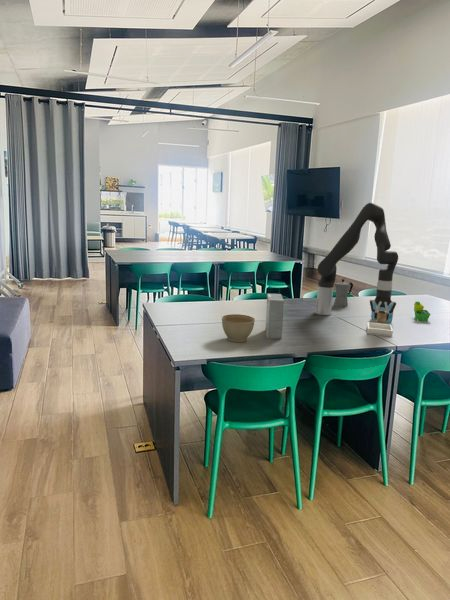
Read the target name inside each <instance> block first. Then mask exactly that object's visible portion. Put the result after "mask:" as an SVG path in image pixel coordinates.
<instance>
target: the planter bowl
mask: <svg viewBox="0 0 450 600" xmlns="http://www.w3.org/2000/svg"><path fill="white" fill-rule="evenodd" d="M255 320H256V319H255V317H253V316H250V315H246V314H240V313H239V314H238V313H237V314H235V313H234V314H233V313H231V314H224V315H222V316H221V325H222V329H223V332H224V334H225V336H226V338H227V340H228V341H230V342H233V343H234V342H235V343H243V342H246V341H247V340H248V338H249V336H250V335H251V334H252V332H253V329H254V326H255Z"/></svg>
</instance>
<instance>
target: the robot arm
mask: <svg viewBox="0 0 450 600" xmlns="http://www.w3.org/2000/svg"><path fill="white" fill-rule="evenodd" d="M367 221H369V222H372V223H373V224H374V226H375V232H374V236H373V237H374V242H375V246H376V261H377V263H378V264H379V265H386V267H384V268H380V269H379V271H378V280H377V284H376V293H375V299H369V305H370V309H371V312H372V311H373V312H375V314H374V318H375V320H374V321H376V320H377V311H378V309H379V307H384V308H386V313H387V317H386V321H387V320H388V318H389V313H393V314H394V310H395V307H396V306H397V302H396V301H393V300H392V291H393V290H392V289H393V278H394V277H393V275H394V272H395V268H396V267H397V264H398V262H399V261H398V260H399V254H398V252H397V251H394V250H390V249H391V247H392V245H391V241H390V239H389V235H388V231H387V223H386V215H385V210H384V208H382V207H381V206H380V205H378V204H375V203H373V202H367V204H365V205H364V206H363V207H362V209H361V210H360V212H359V213H358V215H356V217H355V220H354V221H353V222H352V224H351V225H350V226H349V227H348V229H347V230H346V231H345V232H344V234H343V235H342V236H341V237H340V238H339V240H338V241H337V243H335V245H334V246H333V248H331V250H330V252H329V253H328V254H327V255H325V257H324V258H323V259H322V260H321V261H320V262H319V264H318V265H317V273H318V274H319V275H320V276H321V277H320V279H319V281H318V284H317V294H316V295H317V296H316V297H317V298H316V301H315V302H316V304H315V314H316V315H320V316H330V315H332V307H333V294H334V287H335V285H334V284H336V276H337V263H338V262H339V261H340V260H341V259H342V258H344V257H345V256H347V255H348V254H349V253H351V251H352V250H353V249H354V248H355V246H357V244H358V243H359V242H360V241H359V240H360V237H361V231H362V228H363V226H364V225H365V224H366V222H367ZM374 302H376V304H377V306H376V309H373V304H374ZM390 303H392V304H391V305H392V308H391V310H388V305H389V304H390Z"/></svg>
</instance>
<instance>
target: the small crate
mask: <svg viewBox="0 0 450 600" xmlns="http://www.w3.org/2000/svg"><path fill="white" fill-rule="evenodd" d="M386 317H387V313H386V311H382V310H378V311H377V320H375V322H376V323H380V324H387V323H386Z"/></svg>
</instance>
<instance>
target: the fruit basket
mask: <svg viewBox="0 0 450 600" xmlns="http://www.w3.org/2000/svg"><path fill="white" fill-rule="evenodd" d="M413 306H414V307H413V311H414V318H415V319H416V320H417V322H424V323H425V322H428V320H429V319H430V316H431V313H430V312H429V310H427V309H424V307H425V306H424V305H423V304H422V303H421V302H420V301H419V300H418V301H415V302H414V303H413Z"/></svg>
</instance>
